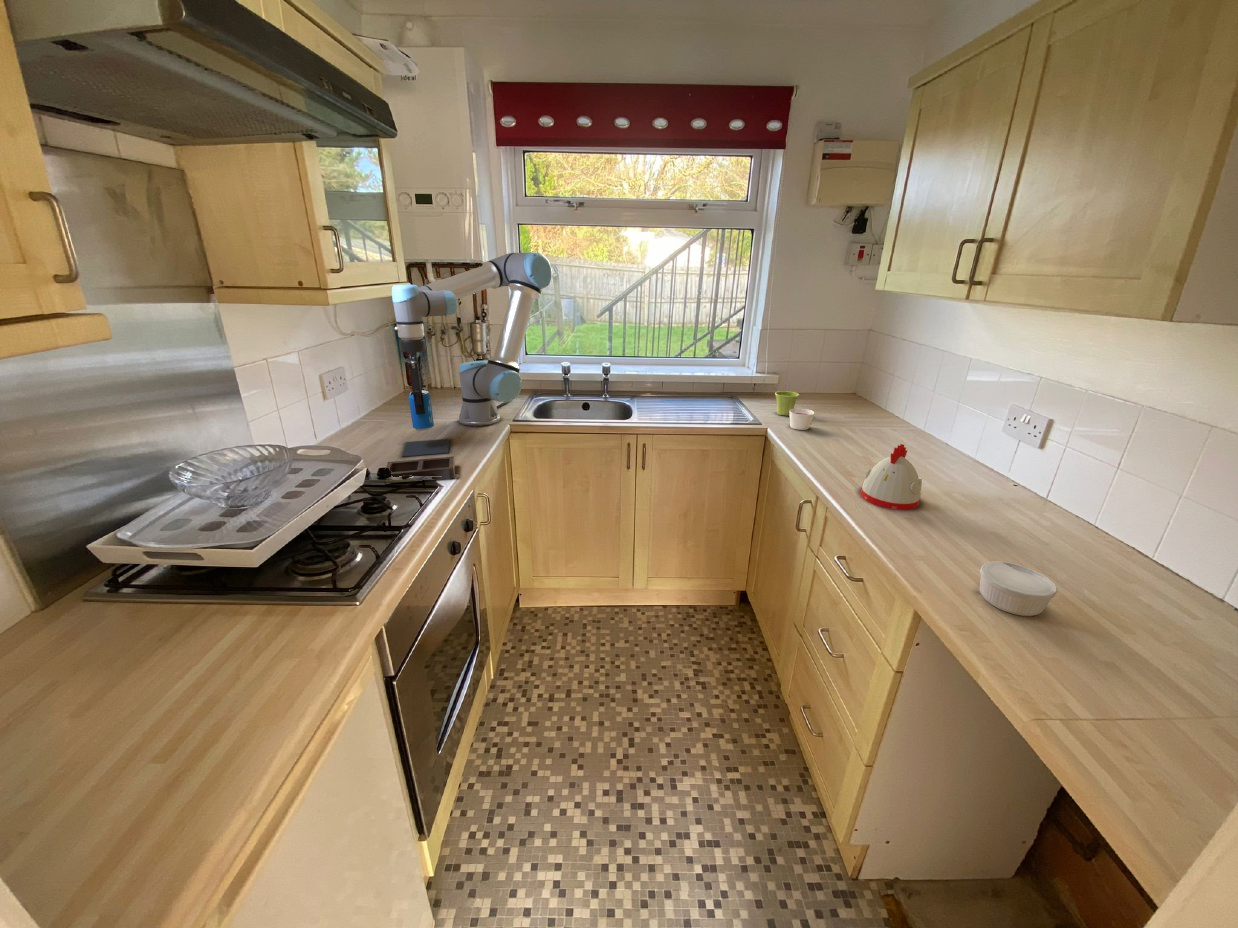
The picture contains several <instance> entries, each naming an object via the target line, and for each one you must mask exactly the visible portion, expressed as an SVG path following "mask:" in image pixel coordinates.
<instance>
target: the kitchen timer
mask: <svg viewBox="0 0 1238 928" xmlns="http://www.w3.org/2000/svg"><path fill="white" fill-rule="evenodd" d="M907 454H908V450H907V447H905V444H902V443H900V444H897V447H894V448H893V453H892V452H891V453H890V456H888V457H885V458H883V459H882V460H880V461H879V462H877V463H876V464H875V465H874V466H873V467H872V468H870V467H869V468H868V469H867V472H866V474H865V476H864V480H863V483H862V485H861V490H860V495H861V497H862V498H863V499H864V500H866V501H867V502H869V503H870V504H873V505H876V506H879V507H882V508H886V509H891V510H897V511H898V510H899V511H902V510H904V511H905V510H907V511H908V510H912V509H916V508H917V507H918V506H919V505H920V501H921V495H922V493H921V491H922V482H923V479H922V478H919V475H918V472H917V470H916V468H915V467H914V465H913V464H912V463H911V462H910V460H909V459H907V458H906V457H907Z"/></svg>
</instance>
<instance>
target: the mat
mask: <svg viewBox="0 0 1238 928" xmlns="http://www.w3.org/2000/svg"><path fill="white" fill-rule="evenodd" d="M449 451H450V438H441V439H428V440H416V441H415V440H414V441H406V443H405V445H404V448H403V451H402V454H401V457H402V458H409V457H410V458H411V457H422V456H423V457H424V456H433V455H444V454H445V455H447V454H449Z"/></svg>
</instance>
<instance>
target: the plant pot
mask: <svg viewBox="0 0 1238 928" xmlns="http://www.w3.org/2000/svg"><path fill="white" fill-rule="evenodd" d="M774 395H775V399H776V414H777V415H779V416H786V417H788V416H789V417H790V415H789V410H790V409H794V408H795V407H796V406H795V405H796V403H797V399H798V397H799V396H800V394H799V393H798V392H795V391H787V390H781V391H776V392H775V393H774Z"/></svg>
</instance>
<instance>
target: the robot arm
mask: <svg viewBox="0 0 1238 928" xmlns="http://www.w3.org/2000/svg"><path fill="white" fill-rule="evenodd" d="M552 279H553V268H552V266H551V263H550V261H549V259H548V258H547V257H546V256H545V255H544V254H542V253H540V252H534V251H529V252H510V253H505V254H503V255H500V256H497V257H495V258H493V259H490V260H486V261H484V262H483V263H482V265H481V266H478V267H475V268H473V269H470V270H467V271H463V272H461V273H457V274H455V275H452V276H449V277H446V278H443V279H440V280H437V281H434V282H430V283H428V284H425V285H422V286H418V285H416V284H394V285H393V286H392V287H391V296H392V297H391V298H392V300H391V301H392V304H393V310H394V316H395V324H396V326H395V327H394V330H395V331H397V336H398V337H399V340H398V344H399V345H398V346H399V351H400V352H402V353H405V354H406V353H407V354H408V356H407V358H406V362H407V365H408V372H409V377H410V384H411V392H412V393H411V395H413V396H414V403H415V410H416V415H418V414H425V407H424V399H423V393H422V390H424V391H426V390H425V389H426V388H427V384H425V381H424V375H423V363H422V362H423V358H422V356H421V354H420V353H423V352H425V351H426V350H427V345H426V339H425V336H426V335H425V328H424V327H425V326H424V321H423V318H427V317H444V316H445V317H448V316H453V315H455V314H456V313H457V311H458V307H459V304H458V300H460V299H462V298H464V297H468V296H470V295H473V294H476V293H478V292H482V291H484V290H487V289H490V288H491V289H494V290H496V289H499V288H502V287H508V288H509V289H510V295H509V299H508V302H507V305H506V310H505V314H504V318H503V320H502V325H501V328H500V332H499V335H498V339H497V342H496V346H495V351H494V354H493V356H491V357H490V358H488V359H486V360H485V359H484V360H474V361H473V360H472V361H467V362H462V363H460V364H459V367H458V375H459V383H460V392H461V399H462V401H461V403H462V404H461V409H460V411H459V417H458V418H459V423H460V424H461V425H464V426H468V427H482V426H484V427H485V426H490V425H494V424H496V423H498V422H500V421H501V415H500V412H499V408H501V407H503V406H505V405H507V404H509V403H510V402H512V401H513V400H515V399H516V398H517V397H518V396H519V395H520V393H521V392H522V391H521V390H522V389H523V388H522V387H523V381H522V377H521V375H520V371H521V369H520V368H521V367H520V366H519V365H518V362H519V359H520V355H521V351H522V348H523V344H524V340H525V336H526V333H527V329H528V325H529V322H530V318H531V314H532V311H533V308H534V304H535V301H536V299H539V298H540V297H541V294H542V291H543V289H545V288H547V287H548V286H549V285H550V284H551V282H552ZM495 402H498V403H499V402H500V404H498V405H496V403H495Z"/></svg>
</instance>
